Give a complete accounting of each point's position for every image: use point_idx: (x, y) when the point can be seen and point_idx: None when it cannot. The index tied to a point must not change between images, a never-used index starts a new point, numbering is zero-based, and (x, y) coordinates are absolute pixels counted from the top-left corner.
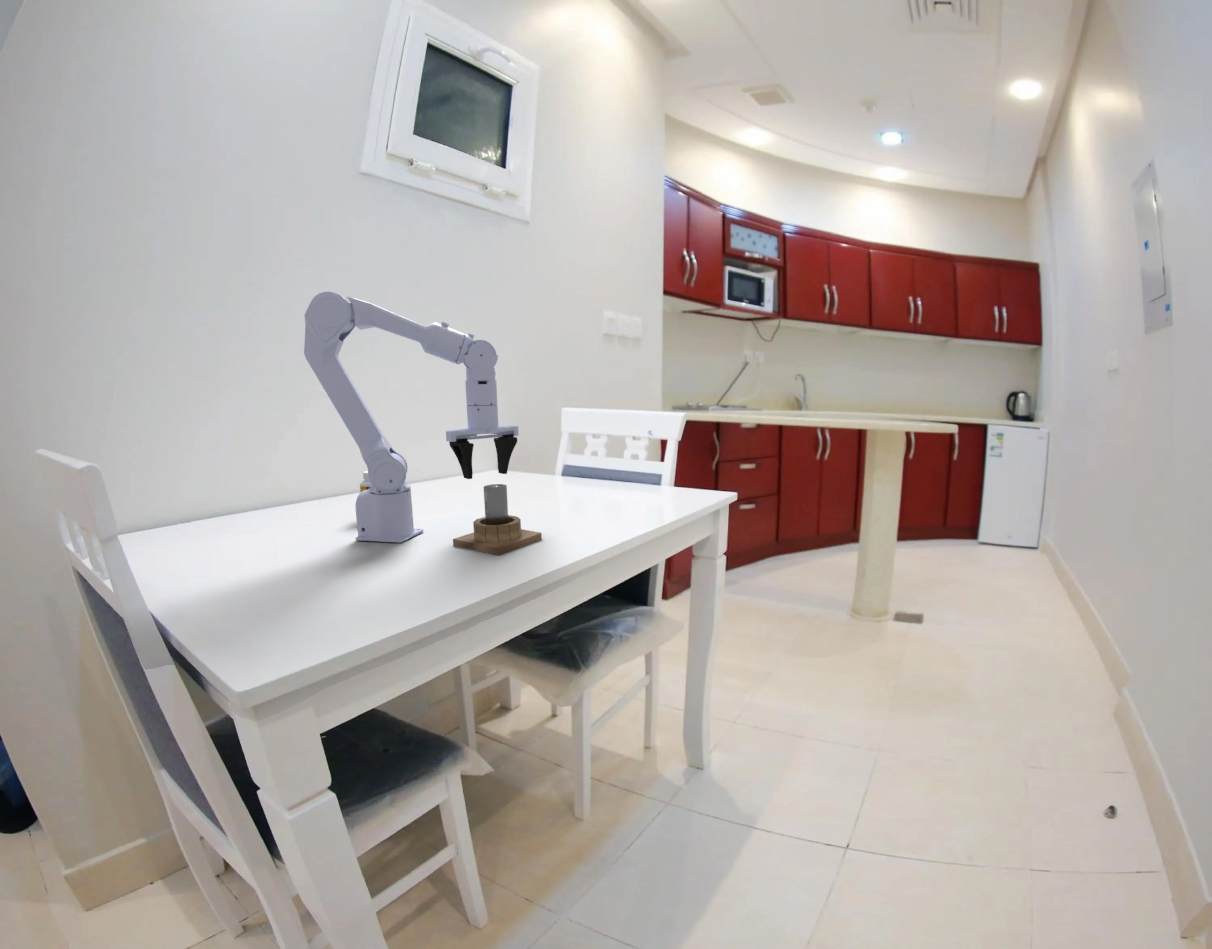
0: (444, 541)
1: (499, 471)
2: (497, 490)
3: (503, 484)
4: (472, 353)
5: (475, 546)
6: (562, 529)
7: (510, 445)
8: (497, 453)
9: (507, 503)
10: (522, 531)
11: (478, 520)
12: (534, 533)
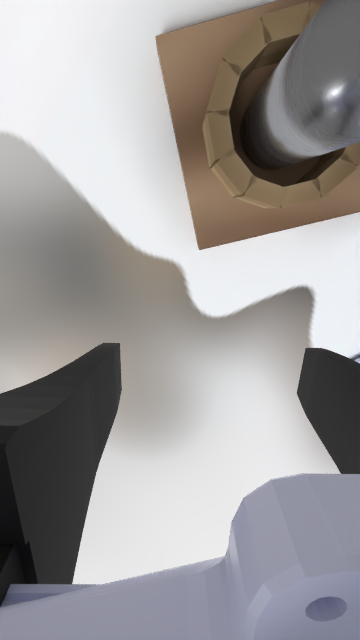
0: (349, 264)
1: (120, 387)
2: None
3: (304, 67)
4: None
5: None
6: (37, 101)
7: (11, 408)
8: (92, 480)
9: (283, 57)
10: (191, 110)
11: (330, 175)
12: (178, 49)
